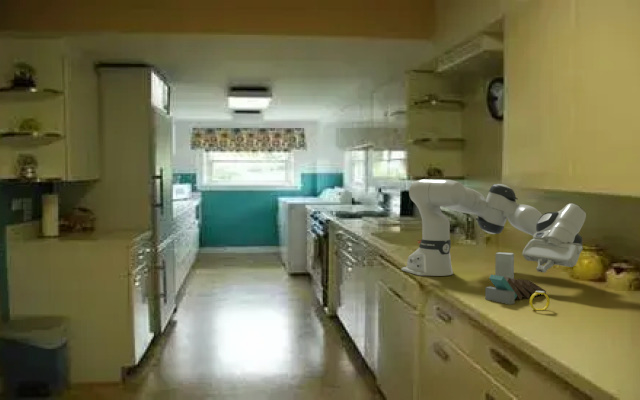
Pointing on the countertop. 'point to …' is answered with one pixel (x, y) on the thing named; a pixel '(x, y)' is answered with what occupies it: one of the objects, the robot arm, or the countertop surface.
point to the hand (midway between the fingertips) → (540, 271)
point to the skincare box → (504, 264)
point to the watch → (541, 294)
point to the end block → (500, 295)
